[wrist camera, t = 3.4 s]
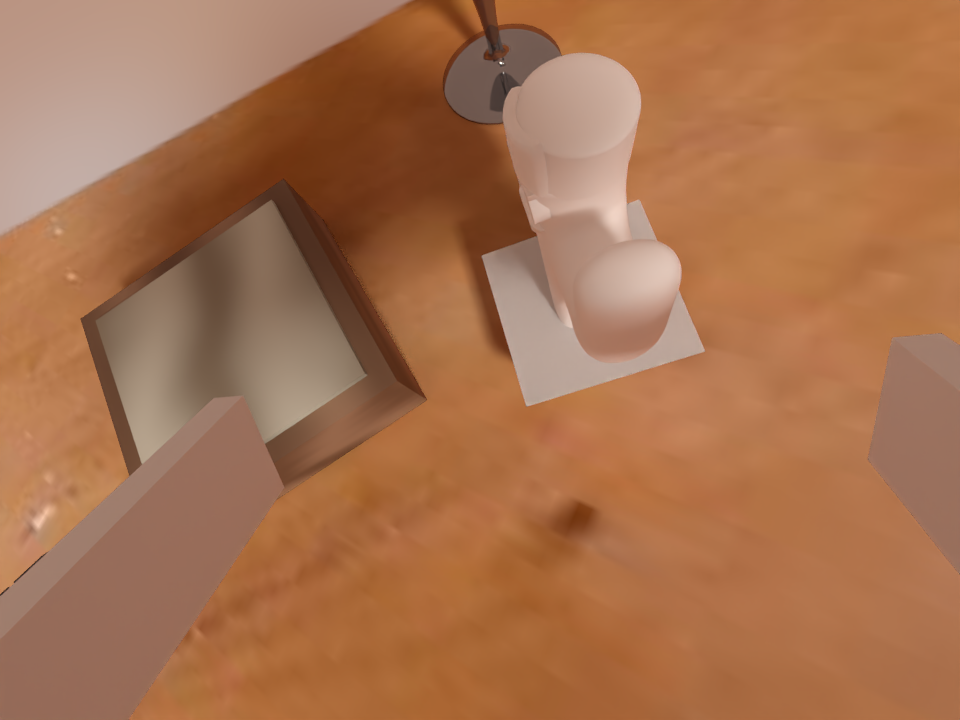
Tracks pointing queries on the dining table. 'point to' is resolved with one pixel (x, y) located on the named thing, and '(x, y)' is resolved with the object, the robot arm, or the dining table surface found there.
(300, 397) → the walnut pedestal
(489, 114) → the wine glass
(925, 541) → the dining table surface
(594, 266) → the figurine
